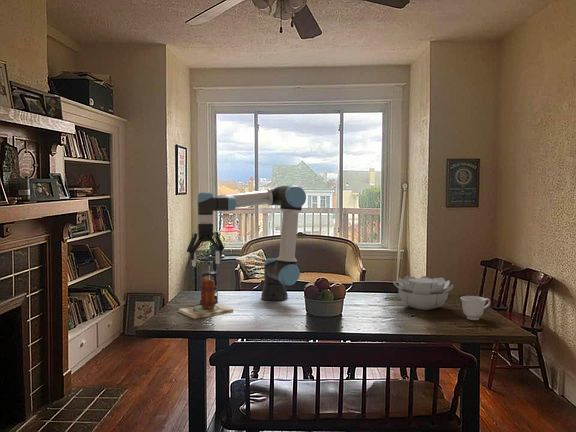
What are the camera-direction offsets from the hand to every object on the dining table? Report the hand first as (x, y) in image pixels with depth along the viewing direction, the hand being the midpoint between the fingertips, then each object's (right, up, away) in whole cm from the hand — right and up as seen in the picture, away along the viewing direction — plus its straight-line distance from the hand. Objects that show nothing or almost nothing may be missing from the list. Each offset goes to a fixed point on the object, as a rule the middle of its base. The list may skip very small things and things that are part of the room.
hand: (205, 265), depth 254 cm
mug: (+1, -22, +2) cm, 22 cm away
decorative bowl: (+113, -24, +13) cm, 116 cm away
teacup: (+133, -25, -9) cm, 136 cm away
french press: (-2, -23, +22) cm, 32 cm away
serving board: (0, -24, +1) cm, 24 cm away
